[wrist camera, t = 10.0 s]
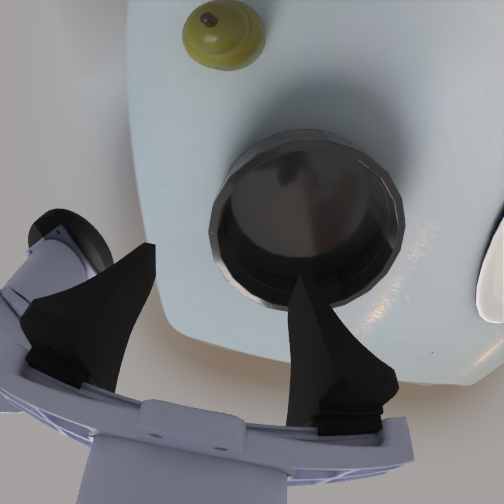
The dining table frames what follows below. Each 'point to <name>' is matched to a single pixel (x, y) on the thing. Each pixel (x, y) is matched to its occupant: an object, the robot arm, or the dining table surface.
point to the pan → (306, 219)
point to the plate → (492, 279)
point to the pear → (224, 35)
